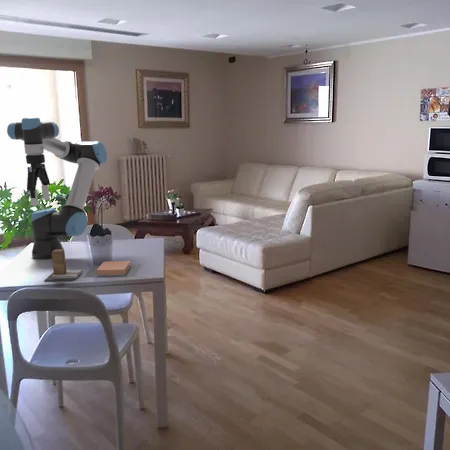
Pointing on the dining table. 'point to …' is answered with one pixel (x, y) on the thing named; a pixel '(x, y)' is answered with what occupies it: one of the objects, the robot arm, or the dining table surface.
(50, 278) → the pad
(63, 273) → the float tool
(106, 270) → the tile
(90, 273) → the mat
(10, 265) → the dining table surface
